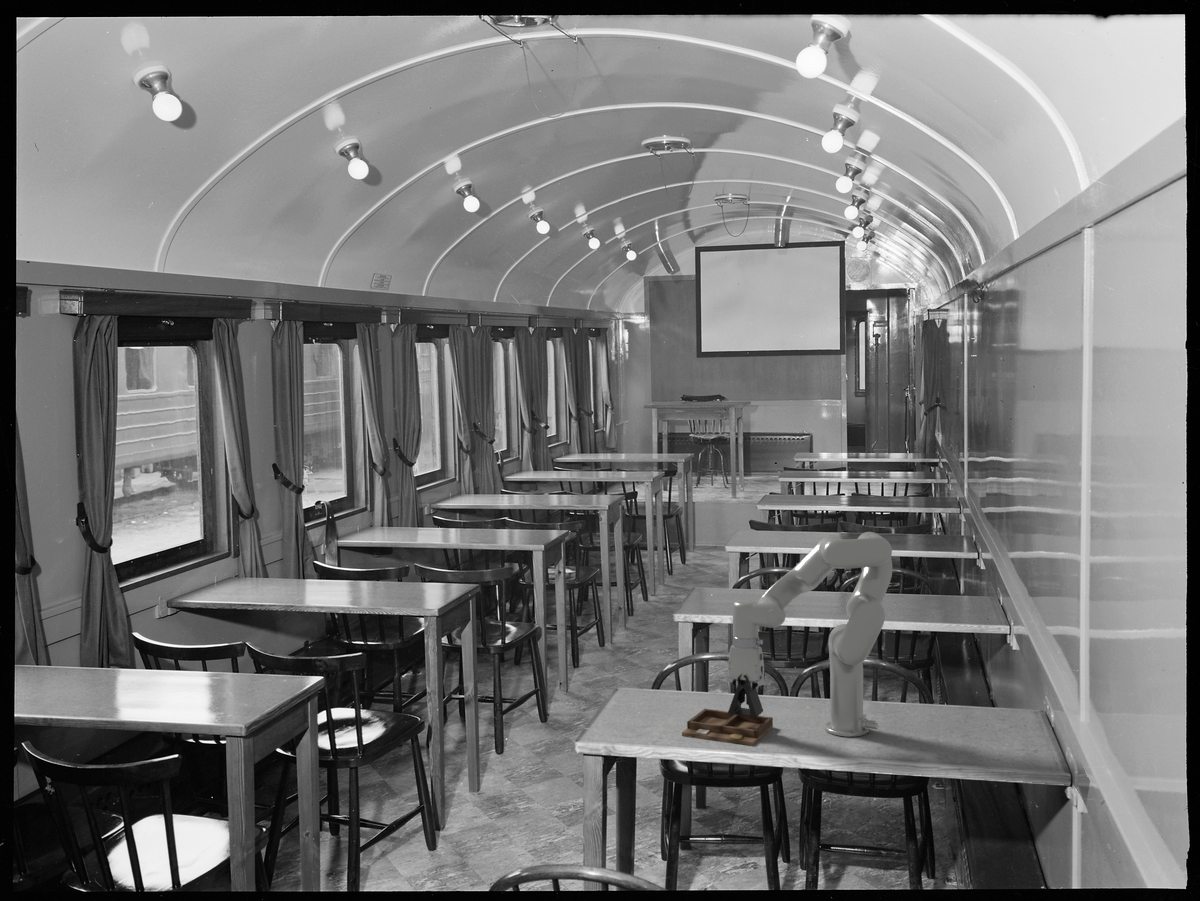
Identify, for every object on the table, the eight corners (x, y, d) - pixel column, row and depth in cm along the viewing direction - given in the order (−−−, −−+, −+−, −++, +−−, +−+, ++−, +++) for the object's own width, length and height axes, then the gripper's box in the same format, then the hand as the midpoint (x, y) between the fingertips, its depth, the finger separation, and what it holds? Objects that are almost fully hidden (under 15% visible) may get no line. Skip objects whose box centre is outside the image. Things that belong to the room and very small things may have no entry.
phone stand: (763, 711, 319) (763, 672, 318) (756, 717, 314) (756, 677, 313) (735, 708, 323) (734, 669, 322) (727, 713, 318) (727, 673, 317)
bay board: (772, 727, 322) (772, 717, 322) (752, 745, 306) (752, 735, 306) (704, 718, 333) (704, 708, 332) (682, 735, 317) (681, 725, 316)
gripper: (774, 642, 317) (774, 703, 318) (725, 636, 324) (725, 696, 325) (766, 647, 310) (766, 710, 311) (716, 642, 317) (716, 703, 319)
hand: (745, 702), depth 318 cm, fingers closed on phone stand, 1 cm apart
